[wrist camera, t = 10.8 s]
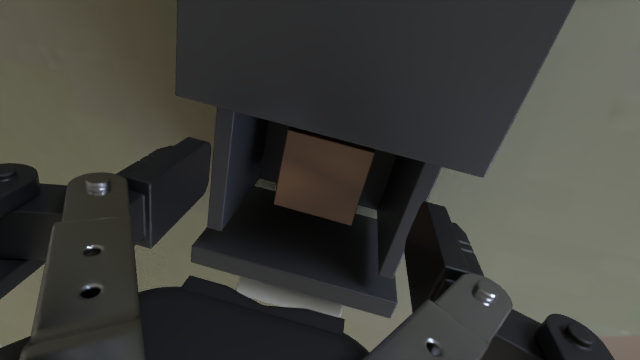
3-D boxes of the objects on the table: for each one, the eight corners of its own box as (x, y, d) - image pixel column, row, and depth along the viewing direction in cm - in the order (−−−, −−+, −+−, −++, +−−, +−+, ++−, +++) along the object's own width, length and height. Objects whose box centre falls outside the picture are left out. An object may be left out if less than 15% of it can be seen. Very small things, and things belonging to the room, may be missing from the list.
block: (304, 107, 20) (291, 171, 22) (287, 129, 16) (273, 204, 18) (375, 126, 20) (355, 189, 22) (375, 152, 16) (351, 226, 18)
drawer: (369, 277, 27) (368, 367, 20) (235, 239, 27) (187, 315, 20) (460, 47, 19) (511, 63, 12) (267, -2, 19) (205, -15, 12)
